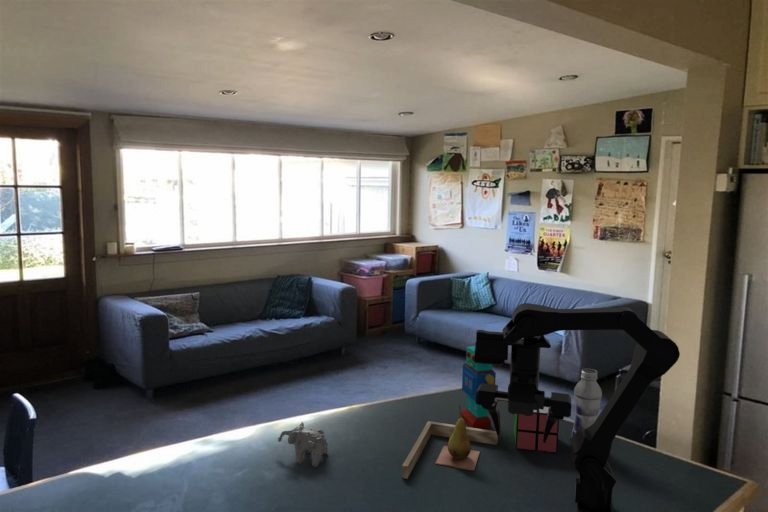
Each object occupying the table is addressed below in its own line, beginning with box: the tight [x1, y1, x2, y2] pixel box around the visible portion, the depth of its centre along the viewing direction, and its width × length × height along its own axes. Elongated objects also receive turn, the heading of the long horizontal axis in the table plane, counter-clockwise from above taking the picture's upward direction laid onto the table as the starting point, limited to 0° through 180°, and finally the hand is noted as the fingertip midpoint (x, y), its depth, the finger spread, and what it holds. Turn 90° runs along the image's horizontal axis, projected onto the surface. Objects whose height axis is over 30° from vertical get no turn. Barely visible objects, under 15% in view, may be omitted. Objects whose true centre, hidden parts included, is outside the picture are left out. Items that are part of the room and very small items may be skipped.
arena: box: [401, 420, 499, 480], centre depth 131 cm, size 18×24×3 cm
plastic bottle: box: [570, 368, 603, 438], centre depth 136 cm, size 6×7×20 cm
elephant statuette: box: [277, 421, 329, 468], centre depth 130 cm, size 9×12×8 cm
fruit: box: [447, 404, 472, 460], centre depth 131 cm, size 6×6×12 cm
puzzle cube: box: [513, 407, 560, 453], centre depth 140 cm, size 10×10×10 cm
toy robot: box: [459, 345, 497, 430], centre depth 149 cm, size 12×6×25 cm, turn 17°
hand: (521, 438), depth 114 cm, fingers open, 9 cm apart
